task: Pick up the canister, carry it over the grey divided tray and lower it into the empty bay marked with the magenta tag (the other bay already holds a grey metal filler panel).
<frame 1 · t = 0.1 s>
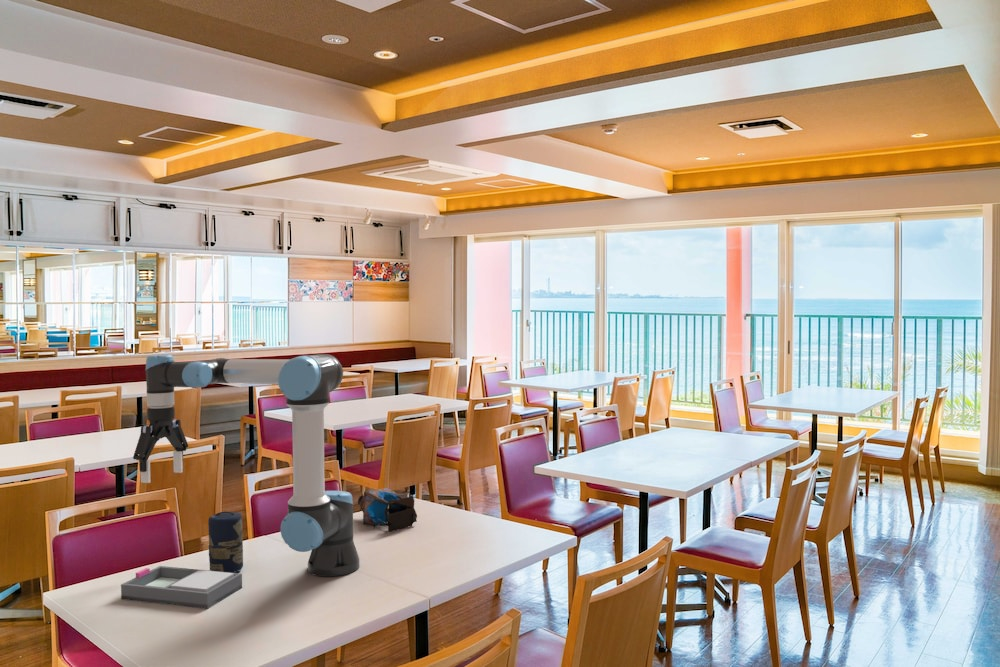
hand: (162, 477, 221), 28 cm above the table, fingers open, 13 cm apart
canister: (226, 571, 220), on the table
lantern: (383, 524, 268), on the table
grey divided tray: (182, 593, 203), on the table
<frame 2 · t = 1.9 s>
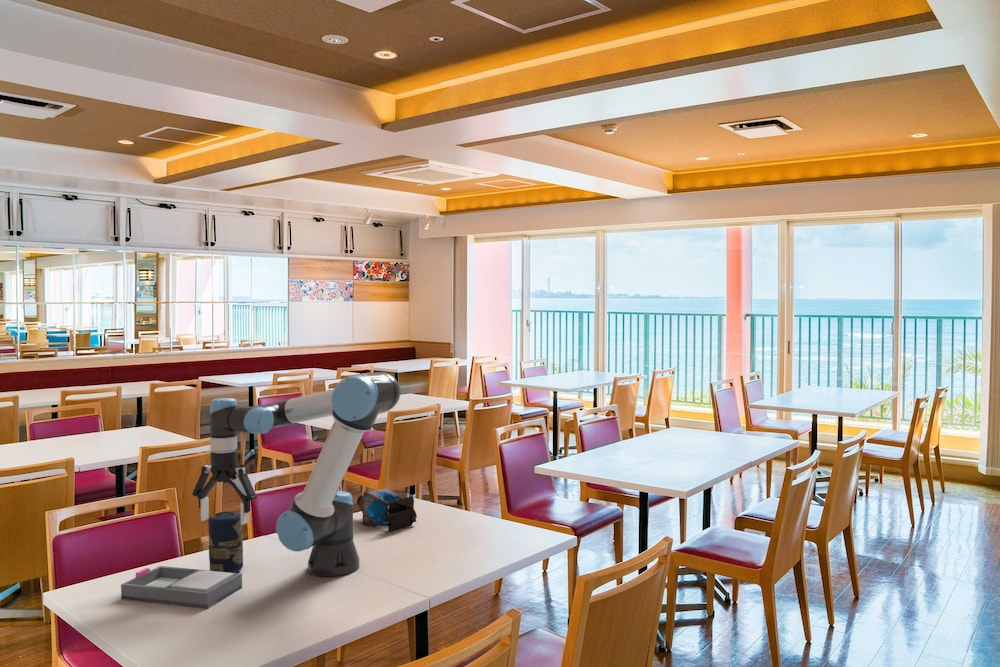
hand: (224, 521, 219), 15 cm above the table, fingers open, 13 cm apart
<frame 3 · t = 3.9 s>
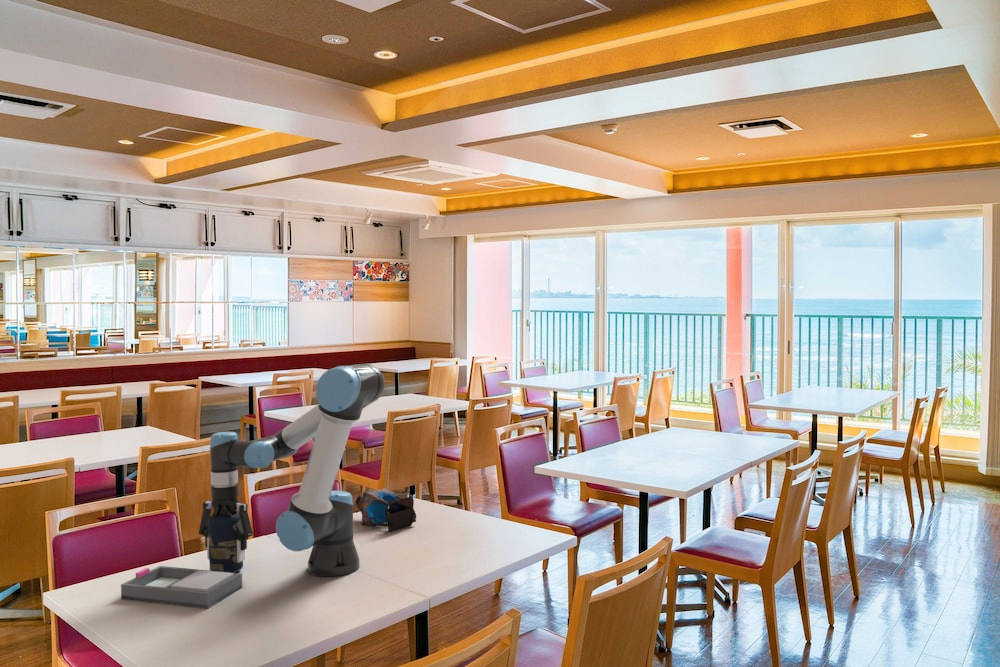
hand: (226, 559, 220), 4 cm above the table, fingers closed on canister, 9 cm apart
canister: (226, 571, 220), on the table, touching gripper
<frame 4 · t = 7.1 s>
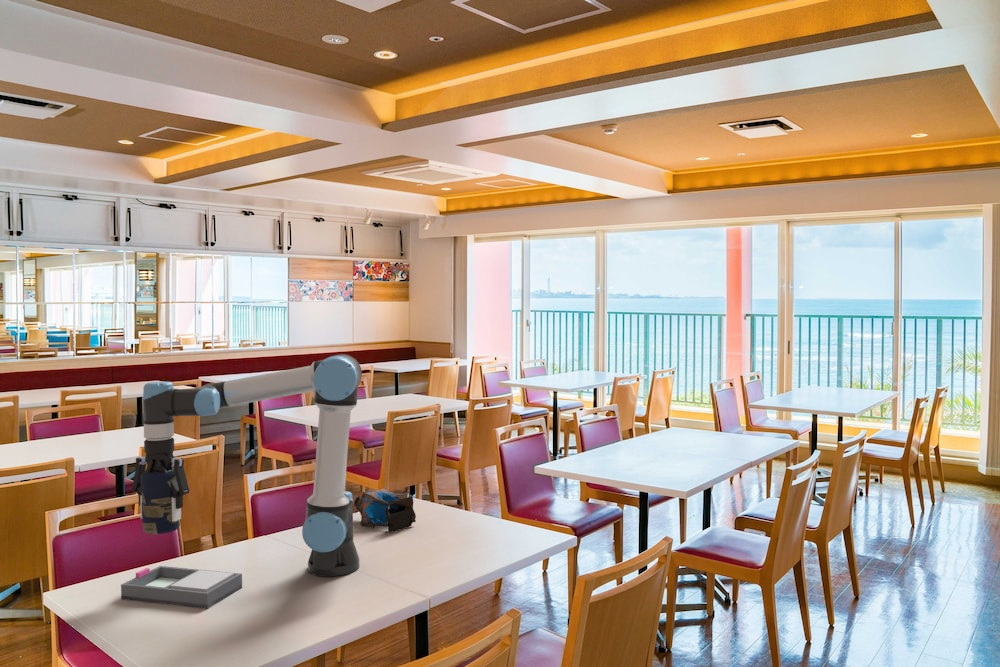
hand: (161, 518, 204), 20 cm above the table, fingers closed on canister, 9 cm apart
canister: (161, 532, 204), point 16 cm above the table, touching gripper
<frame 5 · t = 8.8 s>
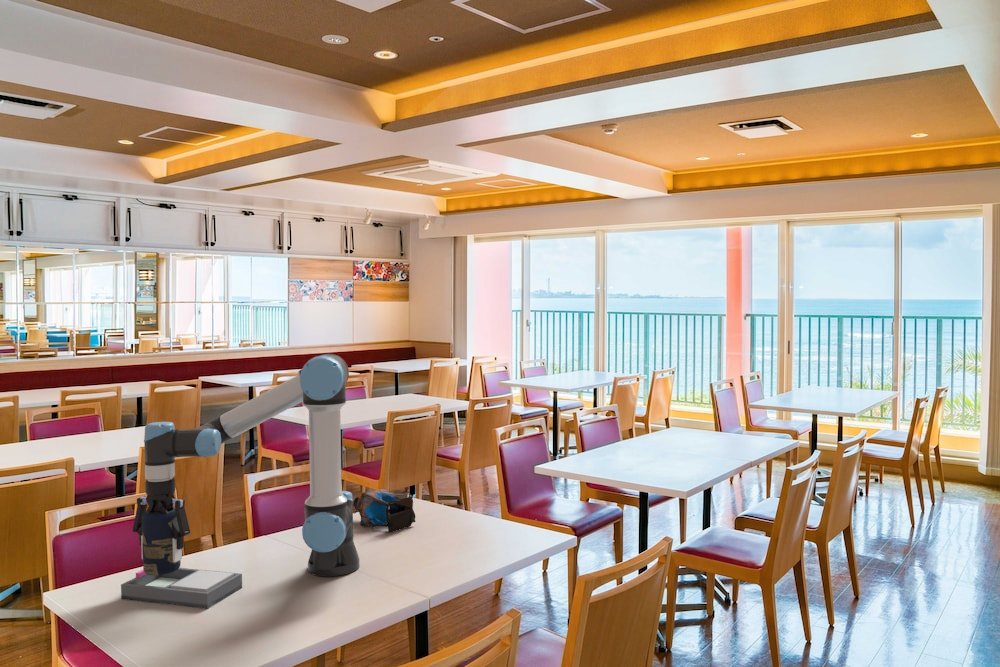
hand: (161, 559, 204), 9 cm above the table, fingers closed on canister, 9 cm apart
canister: (162, 572, 204), point 5 cm above the table, touching gripper
when the fingers open (6 cm above the table, at t = 10.4 s): canister drops 1 cm, resting on grey divided tray.
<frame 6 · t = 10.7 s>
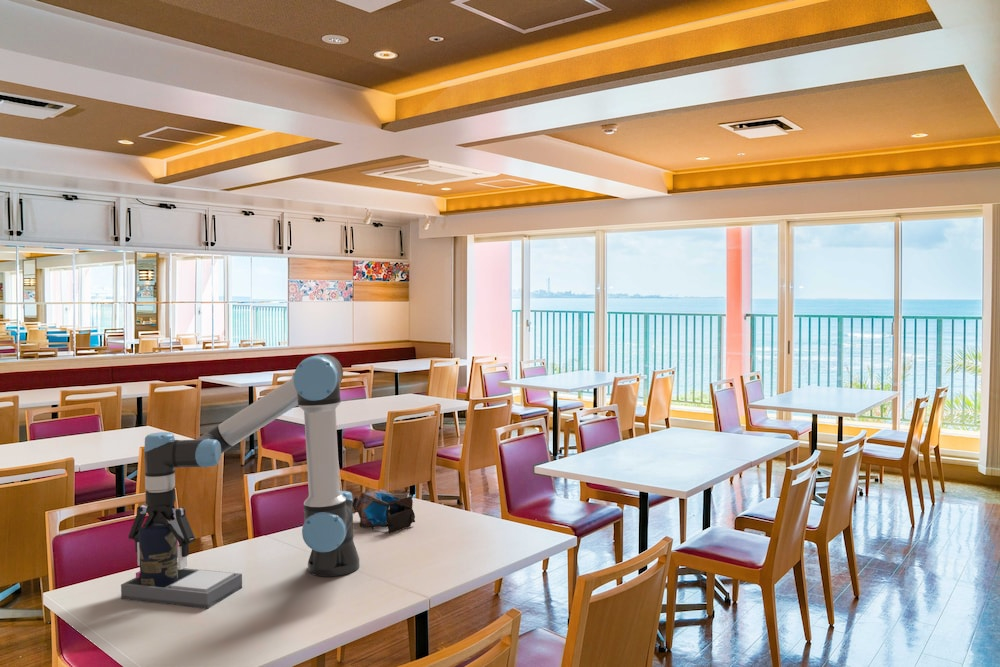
hand: (162, 566, 204), 7 cm above the table, fingers open, 12 cm apart
canister: (159, 586, 205), point 1 cm above the table, touching grey divided tray
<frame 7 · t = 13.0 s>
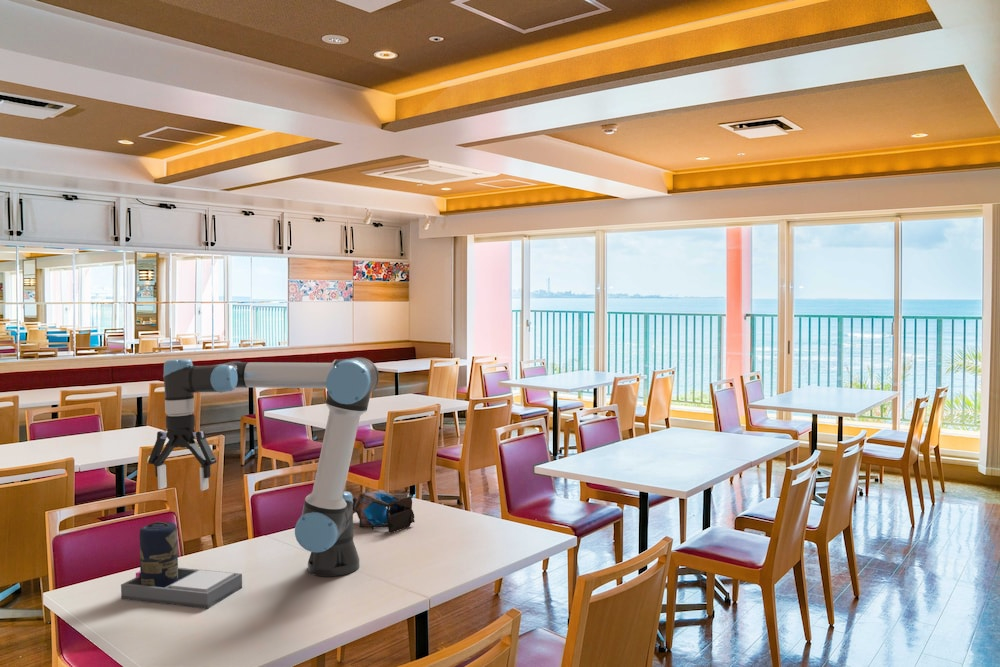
hand: (183, 489, 209), 27 cm above the table, fingers open, 13 cm apart
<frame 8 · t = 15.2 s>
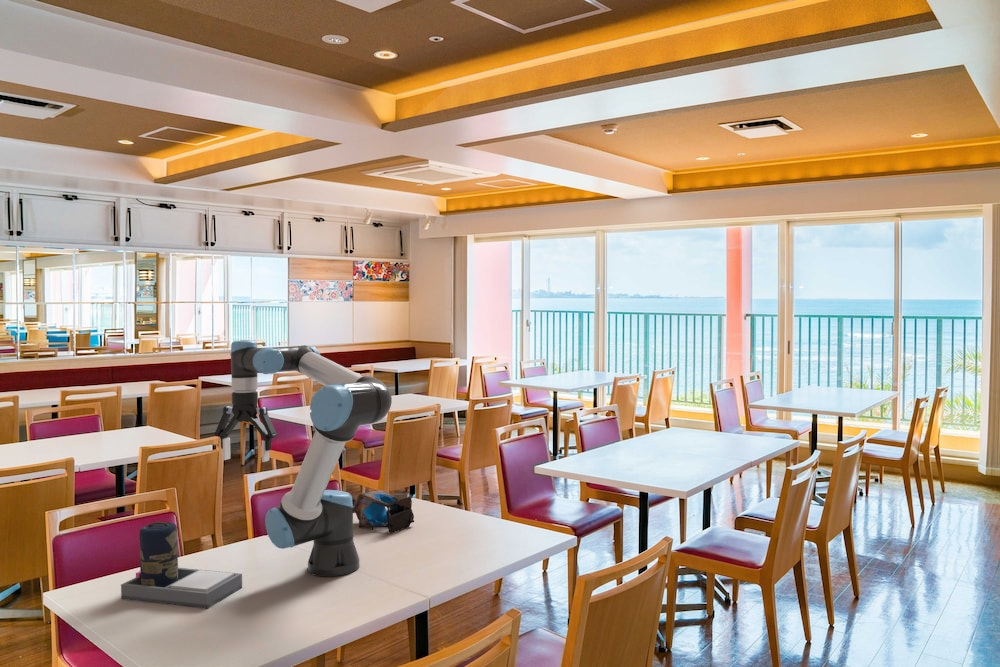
hand: (246, 460, 226), 32 cm above the table, fingers open, 13 cm apart
at the end: canister inside the target area on the grey divided tray (1.1 cm from its centre), point 1.0 cm above the grey divided tray's base; canister tilted 0°; canister touching grey divided tray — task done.
